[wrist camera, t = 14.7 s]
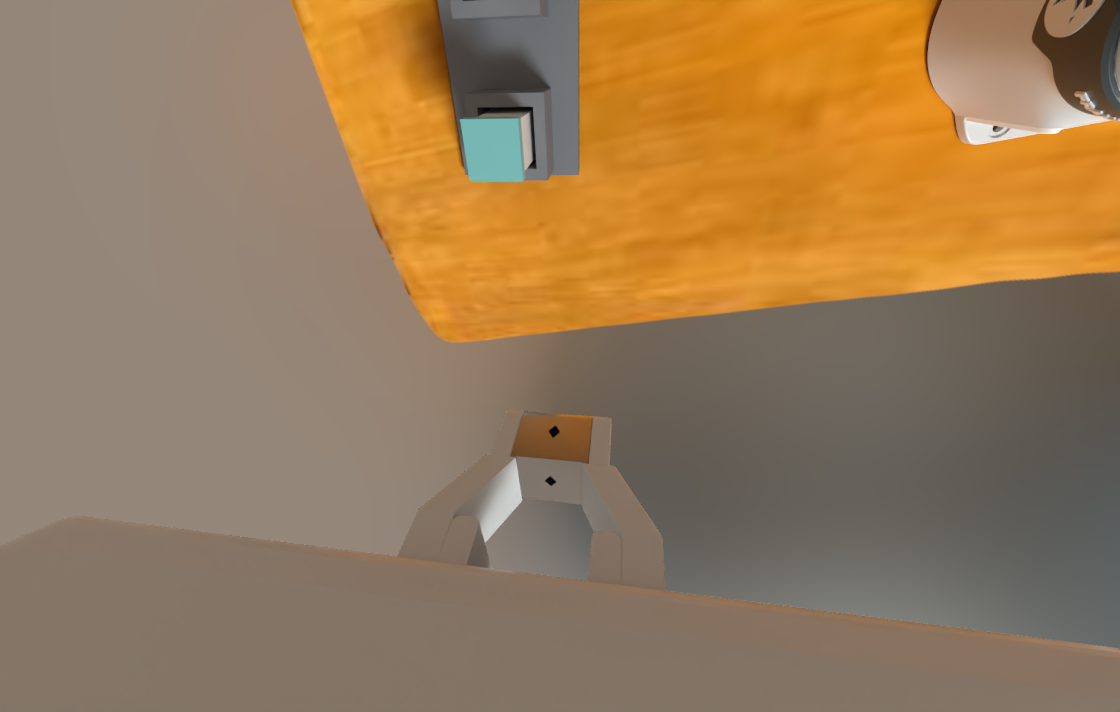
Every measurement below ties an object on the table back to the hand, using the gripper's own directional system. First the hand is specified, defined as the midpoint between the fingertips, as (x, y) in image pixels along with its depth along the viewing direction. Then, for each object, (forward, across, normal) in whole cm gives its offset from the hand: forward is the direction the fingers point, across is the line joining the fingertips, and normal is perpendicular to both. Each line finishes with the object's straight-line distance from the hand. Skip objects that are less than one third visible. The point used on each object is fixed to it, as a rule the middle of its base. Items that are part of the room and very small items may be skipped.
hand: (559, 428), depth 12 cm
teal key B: (+36, +9, -2) cm, 37 cm away
